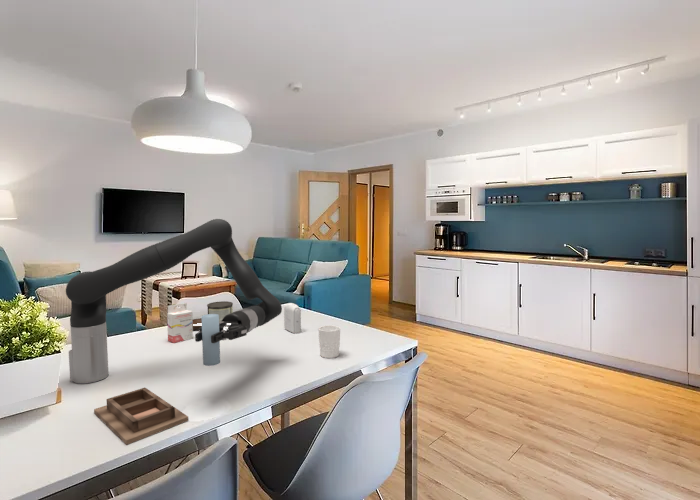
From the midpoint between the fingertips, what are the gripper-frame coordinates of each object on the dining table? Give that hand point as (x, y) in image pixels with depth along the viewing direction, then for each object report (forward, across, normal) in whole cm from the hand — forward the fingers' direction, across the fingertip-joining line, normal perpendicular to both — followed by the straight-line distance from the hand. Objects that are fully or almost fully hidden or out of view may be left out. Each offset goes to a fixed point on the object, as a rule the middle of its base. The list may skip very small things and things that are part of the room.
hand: (204, 338), depth 104 cm
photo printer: (-71, -8, +18) cm, 74 cm away
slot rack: (+11, -12, +18) cm, 24 cm away
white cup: (-46, +19, +18) cm, 52 cm away
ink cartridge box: (-46, -47, +18) cm, 68 cm away
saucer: (-65, -52, +18) cm, 86 cm away
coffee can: (-55, -34, +18) cm, 67 cm away
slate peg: (-3, 0, +8) cm, 8 cm away
